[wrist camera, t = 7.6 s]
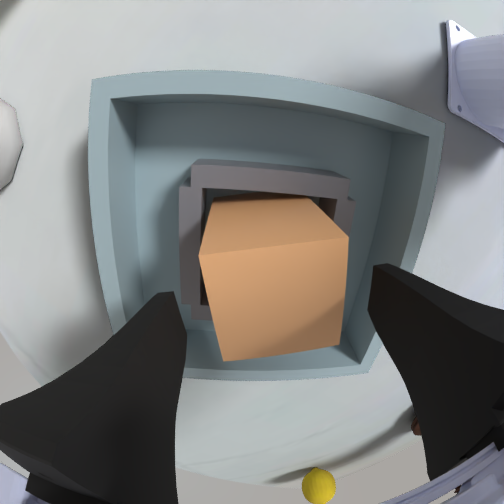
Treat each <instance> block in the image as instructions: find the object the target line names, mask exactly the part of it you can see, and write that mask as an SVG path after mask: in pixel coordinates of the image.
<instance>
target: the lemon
mask: <svg viewBox="0 0 504 504" xmlns="http://www.w3.org/2000/svg"><path fill="white" fill-rule="evenodd" d="M335 490H336V486H335V480H334V477H333V476H332V474H331V473H329V472H328V471H326V470H321V469H318V468H313V469H312V471H311V472H309V473H308V474H307V475H306V476H305V477H304V479H303V481H302V491H303V494H304V496H305V498H306V499H307V500H308V501H309V502H311V503H313V504H325V503H326V502H328V501H329V500H331V498H333V496H334V494H335Z"/></svg>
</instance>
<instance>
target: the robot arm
mask: <svg viewBox="0 0 504 504" xmlns="http://www.w3.org/2000/svg"><path fill="white" fill-rule="evenodd" d="M446 30H447V42H448V72H449V75H448V108H449V110H450V111H451V112H452V113H454V114H456V115H458V116H460V117H462V118H463V119H465V120H467V121H469V122H471V123H472V124H474V125H476V126H478V127H479V128H481V129H483V130H484V131H486V132H488V133H489V134H491V135H492V136H494V137H496V138H497V139H499V140H500V141H502V142H503V143H504V34H500V35H492V36H485V37H478V38H476V37H475V36H474V35H472V34H471V33H469V32H468V31H467V30H465V29H464V28H462V27H461V26H460V25H458V24H457V23H455V22H454V21H452V20H447V21H446ZM457 107H458V108H457ZM458 109H459V110H458ZM367 311H368V313H369V316H370V318H371V321H372V323H373V326H374V328H375V330H376V332H377V334H378V336H379V337H380V339H381V341H382V343H383V344H384V346H385V348H386V350H387V351H388V353H389V355H390V357H391V358H392V360H393V362H394V364H395V365H396V367H397V369H398V371H399V372H400V374H401V376H402V378H403V380H404V382H405V385H406V387H407V390H408V393H409V395H410V398H411V401H412V403H413V407H414V410H415V413H416V416H417V419H418V423H419V427H420V431H421V435H422V439H423V443H424V450H425V456H426V463H427V473H428V476H429V479H430V482H428V483H426V484H424V485H422V486H420V487H418V488H416V489H414V490H411V491H409V492H407V493H405V494H402V495H400V496H398V497H395V498H393V499H390V500H387V501H385V502H382V503H379V504H428V503H430V502H431V501H434V500H436V499H437V498H439V497H441V496H443V495H444V494H446V493H448V492H450V491H451V490H453V489H455V488H456V487H458V486H459V485H461V484H462V486H461V487H460V491H459V493H458V494H457V495H455V496H453V497H452V498H450V499H448V500H446V501H444V502H443V503H441V504H504V310H502V309H498V308H494V307H490V306H487V305H484V304H481V303H478V302H475V301H472V300H470V299H467V298H464V297H462V296H459V295H457V294H455V293H452V292H450V291H448V290H445V289H443V288H441V287H439V286H437V285H435V284H433V283H430V282H428V281H426V280H424V279H422V278H420V277H418V276H416V275H414V274H412V273H410V272H408V271H406V270H403V269H401V268H399V267H397V266H394V265H391V264H388V263H385V264H379V265H373V272H372V280H371V288H370V295H369V301H368V308H367ZM186 350H187V332H186V329H185V326H184V323H183V320H182V317H181V314H180V311H179V307H178V304H177V301H176V297H175V294H174V291H170V292H159V293H157V294H156V295H154V296H153V297H152V298H151V299H150V300H149V301H148V302H147V303H146V304H145V305H144V306H143V307H142V308H141V309H140V310H139V311H138V312H137V313H136V314H135V315H134V316H133V317H132V318H131V319H130V320H129V321H128V322H127V323H126V324H125V325H124V326H123V327H122V328H121V329H120V330H119V331H118V332H117V333H115V334H114V335H113V336H112V337H111V338H110V339H109V340H108V341H107V342H106V343H105V344H104V345H102V346H101V347H100V348H99V349H98V350H96V351H95V352H94V353H93V354H91V355H90V356H89V357H88V358H86V359H85V360H84V361H82V362H81V363H80V364H78V365H77V366H75V367H74V368H72V369H71V370H69V371H68V372H66V373H64V374H63V375H61V376H60V377H58V378H57V379H55V380H53V381H52V382H50V383H48V384H46V385H44V386H42V387H41V388H38V389H36V390H34V391H32V392H30V393H28V394H26V395H23V396H21V397H18V398H16V399H13V400H11V401H8V402H5V403H2V404H1V405H0V450H1V451H2V452H3V453H5V454H6V455H7V456H8V457H10V458H11V459H12V460H14V461H15V462H16V463H17V464H19V465H20V466H21V467H23V468H24V469H26V470H27V471H29V472H30V475H29V478H26V477H25V476H23V475H21V474H20V473H18V472H16V471H14V470H13V469H11V468H9V467H8V466H6V465H4V464H3V463H0V504H178V497H177V488H176V475H175V474H176V473H175V421H176V412H177V405H178V399H179V394H180V388H181V383H182V378H183V372H184V367H185V361H186Z"/></svg>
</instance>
